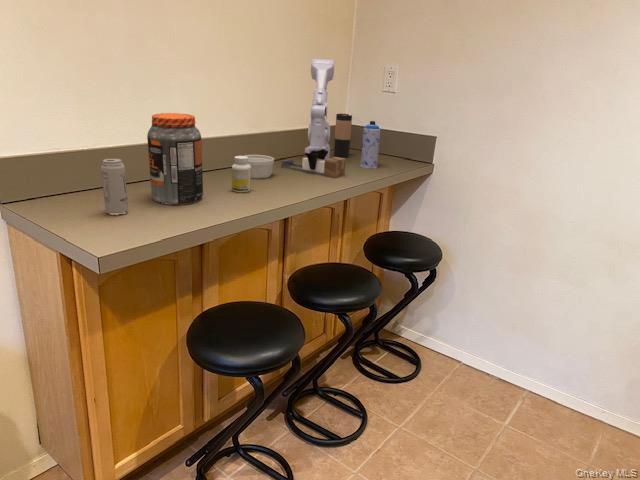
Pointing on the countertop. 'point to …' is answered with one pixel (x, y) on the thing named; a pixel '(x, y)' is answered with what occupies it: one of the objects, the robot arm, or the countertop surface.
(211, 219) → the countertop surface
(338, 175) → the socket block
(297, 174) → the countertop surface
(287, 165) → the guide channel
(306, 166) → the banded cream case
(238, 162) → the pill bottle
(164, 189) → the supplement tub
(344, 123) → the travel mug
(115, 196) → the energy drink can
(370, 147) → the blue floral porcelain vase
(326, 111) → the robot arm
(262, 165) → the ramekin
